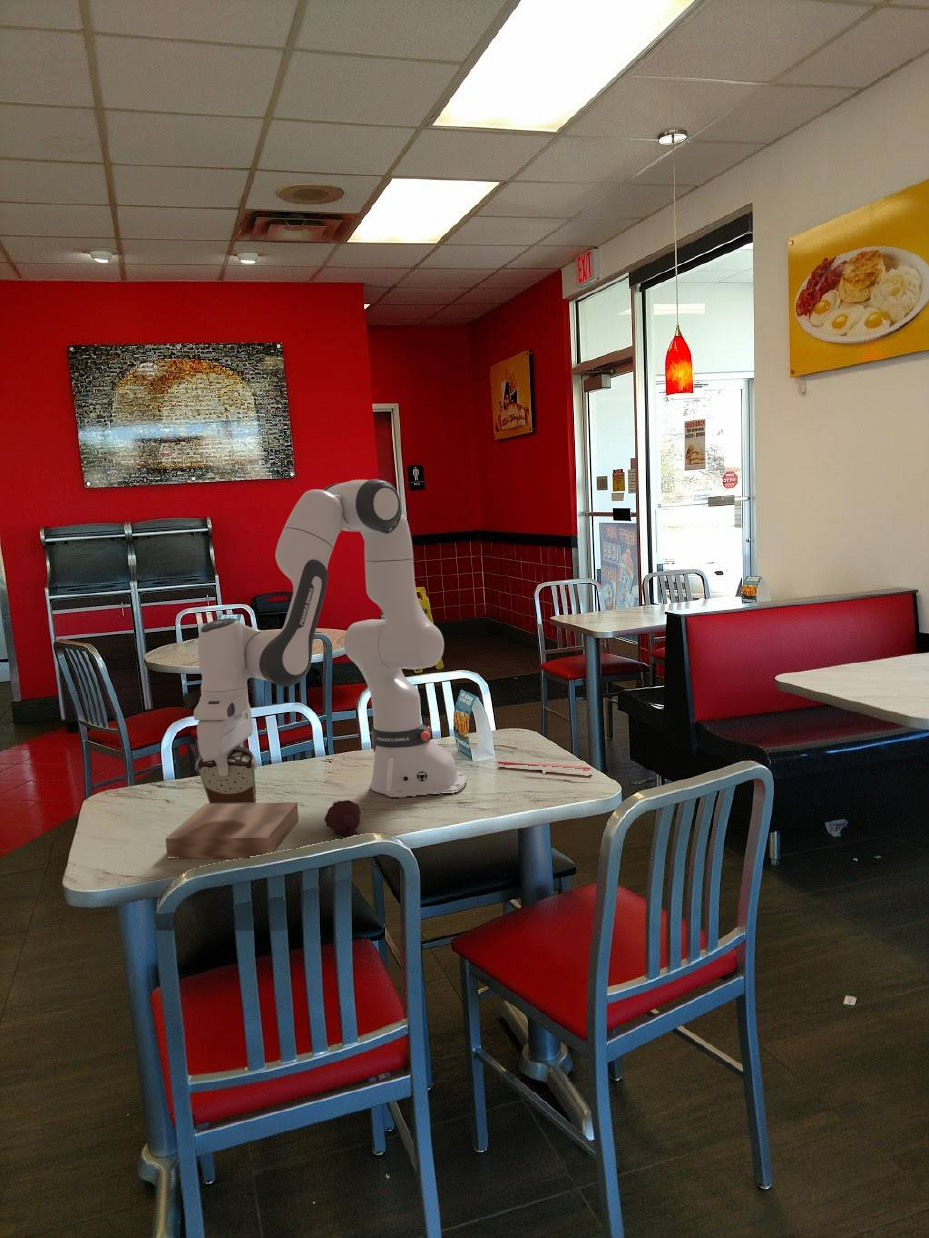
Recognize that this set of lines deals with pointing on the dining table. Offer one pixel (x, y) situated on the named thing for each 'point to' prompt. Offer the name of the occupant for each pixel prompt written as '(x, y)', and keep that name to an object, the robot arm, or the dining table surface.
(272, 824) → the walnut block
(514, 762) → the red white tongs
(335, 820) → the icecream
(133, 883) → the dining table surface
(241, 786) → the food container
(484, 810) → the dining table surface
